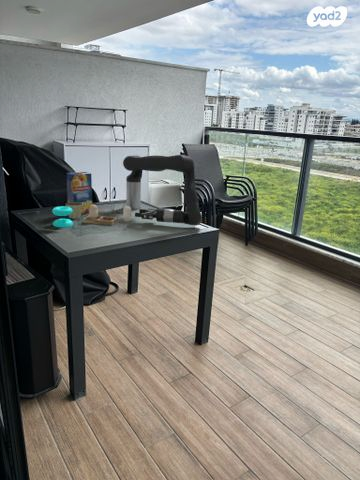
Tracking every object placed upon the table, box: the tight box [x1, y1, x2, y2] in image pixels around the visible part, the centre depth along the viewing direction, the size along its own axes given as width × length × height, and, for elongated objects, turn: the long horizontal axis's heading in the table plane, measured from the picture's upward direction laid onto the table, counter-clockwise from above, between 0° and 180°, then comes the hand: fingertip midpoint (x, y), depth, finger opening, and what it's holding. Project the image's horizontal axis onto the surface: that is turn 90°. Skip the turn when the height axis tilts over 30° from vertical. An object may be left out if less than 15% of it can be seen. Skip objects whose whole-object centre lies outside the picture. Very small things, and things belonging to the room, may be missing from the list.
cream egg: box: [122, 205, 133, 223], centre depth 206 cm, size 5×5×9 cm
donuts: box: [52, 205, 74, 228], centre depth 193 cm, size 10×10×10 cm
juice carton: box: [66, 171, 93, 215], centre depth 217 cm, size 12×8×24 cm, turn 132°
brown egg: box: [88, 203, 99, 220], centre depth 201 cm, size 5×5×9 cm
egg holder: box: [82, 214, 118, 226], centre depth 202 cm, size 9×17×3 cm, turn 80°
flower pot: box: [65, 202, 83, 220], centre depth 208 cm, size 9×9×9 cm
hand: (137, 212), depth 205 cm, fingers open, 8 cm apart
